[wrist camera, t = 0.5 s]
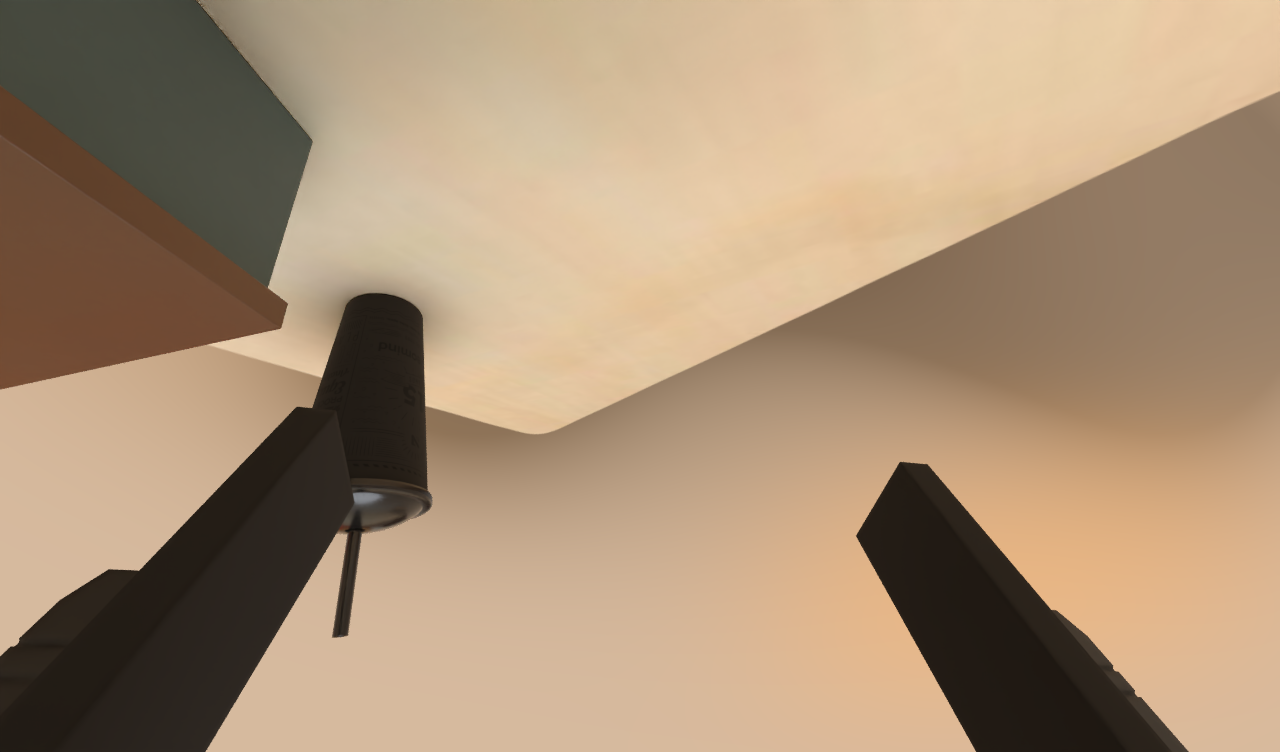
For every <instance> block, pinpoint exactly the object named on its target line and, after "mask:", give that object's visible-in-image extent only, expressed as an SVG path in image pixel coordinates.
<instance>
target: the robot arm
mask: <svg viewBox="0 0 1280 752" xmlns="http://www.w3.org/2000/svg"><path fill="white" fill-rule="evenodd" d="M354 503H355V501H354V496H353V491H352V486H351V481H350V476H349V472H348V467H347V462H346V457H345V452H344V447H343V442H342V437H341V432H340V427H339V422H338V417H337V412H336V410H326V409H315V408H303V407H296V408H295V409H294V410H293V411H292V412H291V413H290V414H289V416H287V418H285V420H284V421H283V422H282V423H281V424H280V425H279V426H278V427H277V428H276V429H275V430H274V431H273V432H272V433H271V434H270V435H269V436H268V437H267V438H266V439H265V440H264V441H263V443H261V445H260V446H259V447H258V448H257V449H256V450H255V451H254V452H253V453H252V454H251V455H250V456H249V457H248V458H247V459H246V460H245V461H244V462H243V463H242V464H241V465H240V466H239V468H237V470H236V471H235V472H234V473H233V474H232V475H231V476H230V477H229V478H228V479H227V480H226V481H225V482H224V483H223V484H222V485H221V486H220V487H219V488H218V489H217V490H216V492H214V493H213V495H212V496H211V497H210V498H209V499H208V500H207V501H206V502H205V503H204V504H203V505H202V506H201V507H200V508H199V509H198V510H197V511H196V512H195V513H194V514H193V515H192V516H191V517H190V518H189V519H188V521H187V522H186V523H185V524H184V525H183V526H182V527H181V528H180V529H179V530H178V531H177V532H176V533H175V534H174V535H173V536H172V537H171V538H170V539H169V540H168V541H167V542H166V544H165V545H164V546H163V547H162V548H161V549H160V550H159V551H158V552H157V553H156V554H155V555H154V556H153V557H152V558H151V559H150V560H149V561H148V562H147V563H146V564H145V565H144V566H143V568H142V569H140V570H139V571H134V570H110V569H109V570H107V571H106V572H104V573H102V574H101V575H99V576H97V577H96V578H94V579H93V580H91V581H90V582H88V583H86V584H85V585H83V586H82V587H80V588H78V589H77V590H75V591H74V592H72V593H71V594H69V595H67V596H66V597H64V598H63V599H61V600H60V601H59V602H58V603H56V604H55V605H54V606H53V607H52V608H51V609H50V610H49V611H48V612H47V613H46V614H45V615H44V616H43V617H42V618H40V619H39V620H38V621H37V622H36V623H35V624H34V625H33V626H32V627H31V628H30V629H29V630H28V631H27V632H26V633H25V634H24V635H22V637H20V638H19V640H20V641H19V643H18V644H17V645H16V646H14V647H10V648H9V649H8V650H7V651H6V652H4V653H3V654H2V655H1V656H0V752H205V751H206V750H207V748H208V747H209V745H210V743H211V742H212V740H213V738H214V737H215V735H216V733H217V731H218V730H219V728H220V727H221V725H222V723H223V722H224V720H225V718H226V717H227V715H228V713H229V712H230V710H231V708H232V707H233V705H234V703H235V702H236V700H237V698H238V697H239V695H240V693H241V692H242V690H243V688H244V687H245V685H246V683H247V682H248V680H249V678H250V677H251V675H252V673H253V672H254V670H255V668H256V667H257V665H258V663H259V662H260V660H261V658H262V657H263V655H264V653H265V652H266V650H267V648H268V647H269V645H270V643H271V642H272V640H273V638H274V637H275V635H276V633H277V632H278V630H279V628H280V626H281V625H282V623H283V621H284V620H285V618H286V617H287V615H288V613H289V612H290V610H291V608H292V606H293V605H294V603H295V601H296V600H297V598H298V597H299V595H300V593H301V592H302V590H303V588H304V587H305V585H306V583H307V582H308V580H309V578H310V577H311V575H312V573H313V572H314V570H315V568H316V567H317V565H318V563H319V562H320V560H321V558H322V557H323V555H324V553H325V552H326V550H327V548H328V547H329V545H330V543H331V542H332V540H333V538H334V537H335V535H336V533H337V532H338V530H339V528H340V527H341V525H342V523H343V522H344V520H345V518H346V517H347V515H348V513H349V512H350V510H351V508H352V507H353V505H354ZM856 537H857V538H858V540H859V542H860V544H861V546H862V548H863V549H864V551H865V553H866V555H867V557H868V558H869V560H870V562H871V564H872V566H873V567H874V569H875V571H876V573H877V575H878V576H879V578H880V580H881V581H882V584H883V585H884V587H885V589H886V591H887V593H888V594H889V596H890V598H891V600H892V601H893V603H894V605H895V607H896V609H897V610H898V612H899V614H900V616H901V618H902V619H903V621H904V623H905V625H906V627H907V628H908V630H909V632H910V634H911V636H912V637H913V639H914V641H915V643H916V645H917V646H918V648H919V650H920V652H921V654H922V655H923V657H924V659H925V660H926V663H927V664H928V666H929V668H930V670H931V671H932V673H933V675H934V677H935V679H936V681H937V682H938V684H939V686H940V688H941V689H942V691H943V693H944V695H945V697H946V698H947V700H948V702H949V704H950V705H951V707H952V709H953V711H954V713H955V715H956V716H957V718H958V720H959V722H960V724H961V725H962V727H963V729H964V731H965V732H966V734H967V736H968V738H969V740H970V741H971V743H972V745H973V747H974V749H975V751H976V752H1188V751H1187V749H1186V748H1185V747H1184V746H1183V745H1182V744H1181V743H1180V741H1179V740H1178V739H1177V738H1176V737H1175V736H1174V735H1173V733H1172V732H1171V731H1170V730H1169V729H1168V728H1167V727H1166V726H1165V724H1164V723H1163V722H1162V721H1161V720H1160V719H1159V717H1158V716H1157V715H1156V714H1155V713H1154V712H1153V711H1152V709H1150V707H1149V706H1148V705H1147V704H1146V703H1145V701H1144V700H1143V699H1142V698H1141V697H1137V696H1136V695H1135V690H1134V689H1133V688H1132V687H1131V685H1130V684H1129V683H1128V682H1127V681H1126V680H1125V679H1124V677H1123V676H1122V675H1121V674H1120V673H1119V672H1115V671H1114V669H1113V665H1112V664H1111V663H1110V662H1109V660H1108V659H1107V658H1106V657H1105V656H1104V655H1103V653H1102V652H1101V651H1100V650H1099V649H1098V648H1097V647H1096V646H1095V644H1094V643H1093V642H1092V641H1091V640H1090V639H1089V637H1088V636H1086V635H1085V634H1084V633H1083V632H1082V631H1080V630H1079V629H1078V628H1077V627H1076V626H1074V625H1073V624H1072V623H1071V622H1070V621H1069V620H1067V619H1066V618H1065V617H1064V616H1063V615H1061V614H1060V613H1059V612H1058V611H1056V610H1051V609H1050V608H1049V607H1048V606H1047V604H1046V603H1045V602H1044V601H1043V600H1042V599H1041V597H1040V596H1039V595H1038V594H1037V593H1036V591H1035V590H1034V589H1033V588H1032V587H1031V585H1030V584H1029V583H1028V582H1027V581H1026V580H1025V578H1024V577H1023V576H1022V575H1021V574H1020V573H1019V572H1018V570H1017V569H1016V568H1015V567H1014V566H1013V564H1012V563H1011V562H1010V561H1009V560H1008V558H1007V557H1006V556H1005V555H1004V554H1003V553H1002V551H1000V549H999V548H998V547H997V546H996V545H995V543H994V542H993V541H992V540H991V539H990V537H989V536H988V535H987V534H986V533H985V531H984V530H983V529H982V528H981V527H980V526H979V524H978V523H977V522H976V521H975V520H974V519H973V517H972V516H971V515H970V514H969V513H968V511H966V509H965V508H964V507H963V506H962V505H961V503H960V502H959V501H958V500H957V499H956V497H955V496H954V495H953V494H952V493H951V492H950V490H949V489H948V488H947V487H946V486H945V484H944V483H943V482H942V481H941V480H940V479H939V477H938V476H937V475H936V474H935V473H934V471H932V469H931V468H930V467H929V466H928V465H927V464H917V463H906V462H900V463H899V464H898V466H897V468H896V470H895V471H894V473H893V475H892V476H891V478H890V480H889V481H888V483H887V485H886V486H885V488H884V490H883V492H882V493H881V495H880V497H879V498H878V500H877V502H876V503H875V505H874V507H873V508H872V510H871V512H870V513H869V515H868V517H867V518H866V520H865V522H864V523H863V525H862V527H861V528H860V530H859V532H858V533H857V535H856Z"/></svg>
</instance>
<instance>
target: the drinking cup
mask: <svg viewBox="0 0 1280 752" xmlns="http://www.w3.org/2000/svg"><path fill="white" fill-rule="evenodd" d="M313 408H315V409H326V410H336V412H337V417H338V422H339V427H340V432H341V437H342V442H343V447H344V452H345V457H346V462H347V467H348V472H349V476H350V481H351V486H352V491H353V496H354V501H355V503H354V505H353V507H352V508H351V510H350V512H349V513H348V515H347V517H346V518H345V520H344V522H343V523H342V525H341V527H340V528H339V530H338V532H337V533H336V534H348V535H347V542H346V548H345V555H344V561H343V568H342V575H341V582H340V588H339V595H338V601H337V609H336V615H335V622H334V628H333V635H332V638H335V637H344V636H348V631H349V624H350V617H351V609H352V602H353V595H354V587H355V579H356V572H357V565H358V558H359V550H360V543H361V535H362V534H364V533H372V532H377V531H382V530H385V529H389V528H392V527H395V526H397V525H400V524H402V523H404V522H406V521H408V520H410V519H413V518H416V517H418V516H421V515H423V514H425V513H426V512H427V511H429V510H430V508H431V506H432V496H431V494H430V493H429V492H428V491H427V490H428V489H427V457H426V456H427V453H426V418H425V383H424V347H423V318H422V315H421V313H420V312H419V310H418V309H417V308H416V307H415V306H413V305H412V304H411V303H409V302H407V301H405V300H403V299H400V298H397V297H394V296H390V295H384V294H367V295H362V296H358V297H356V298H354V299H352V300H351V301H350V302H349V303H348V304H347V305H346V308H345V311H344V314H343V317H342V320H341V323H340V326H339V329H338V332H337V335H336V338H335V341H334V344H333V347H332V350H331V353H330V356H329V359H328V362H327V365H326V368H325V371H324V374H323V377H322V380H321V383H320V386H319V389H318V392H317V395H316V399H315V402H314V405H313Z"/></svg>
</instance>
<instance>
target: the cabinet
mask: <svg viewBox="0 0 1280 752" xmlns="http://www.w3.org/2000/svg"><path fill="white" fill-rule="evenodd" d="M311 145H312V140H311V139H310V138H309V137H308V135H307V134H306V133H305V132H304V130H303V129H302V128H301V127H300V126H299V124H298V123H297V122H296V121H295V120H294V118H293V117H292V116H291V115H290V114H289V112H288V111H287V110H286V109H285V108H284V106H283V105H282V104H281V103H280V102H279V100H278V99H277V98H276V97H275V96H274V94H273V93H272V92H271V91H270V89H269V88H268V87H267V86H266V85H265V83H264V82H263V81H262V80H261V79H260V77H259V76H258V75H257V74H256V73H255V71H254V70H253V69H252V68H251V67H250V65H249V64H248V63H247V62H246V61H245V59H244V58H243V57H242V56H241V55H240V53H239V52H238V51H237V50H236V48H235V47H234V46H233V45H232V44H231V42H230V41H229V40H228V39H227V38H226V36H225V35H224V34H223V33H222V32H221V30H220V29H219V28H218V27H217V26H216V24H215V23H214V22H213V21H212V20H211V18H210V17H209V16H208V15H207V14H206V12H205V11H204V10H203V9H202V7H201V6H200V5H199V4H198V3H197V1H196V0H0V389H5V388H9V387H14V386H18V385H23V384H28V383H32V382H37V381H42V380H46V379H51V378H55V377H60V376H64V375H69V374H74V373H78V372H83V371H87V370H92V369H97V368H101V367H105V366H110V365H115V364H120V363H124V362H129V361H134V360H138V359H143V358H147V357H152V356H156V355H161V354H166V353H170V352H175V351H179V350H184V349H189V348H193V347H198V346H203V345H207V344H212V343H216V342H221V341H226V340H230V339H235V338H239V337H244V336H249V335H253V334H258V333H262V332H267V331H272V330H276V329H280V328H281V327H282V323H283V319H284V316H285V312H286V308H287V305H288V304H287V302H285V301H284V300H283V299H281V298H280V297H279V296H277V295H276V294H275V293H273V292H272V291H271V290H269V289H268V285H269V282H270V279H271V275H272V272H273V269H274V266H275V262H276V259H277V256H278V253H279V249H280V246H281V243H282V240H283V236H284V233H285V230H286V227H287V223H288V220H289V217H290V214H291V210H292V207H293V204H294V201H295V197H296V194H297V191H298V188H299V184H300V181H301V178H302V175H303V171H304V168H305V165H306V162H307V158H308V155H309V152H310V149H311Z"/></svg>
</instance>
